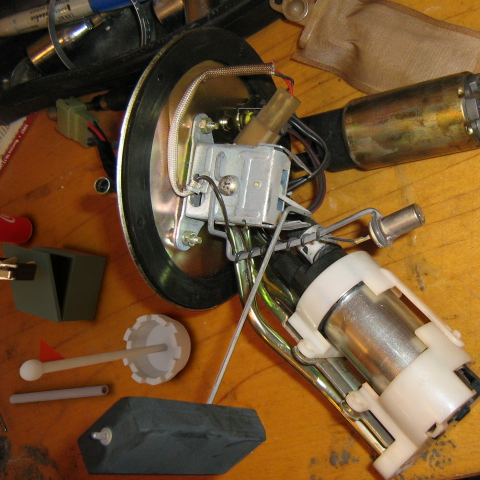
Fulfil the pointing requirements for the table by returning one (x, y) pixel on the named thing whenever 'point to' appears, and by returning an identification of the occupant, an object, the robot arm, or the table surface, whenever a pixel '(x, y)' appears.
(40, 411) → the table surface
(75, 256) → the dark green open box
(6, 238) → the beverage can
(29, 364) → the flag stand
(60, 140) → the table surface
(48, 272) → the box lid
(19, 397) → the metal rod
